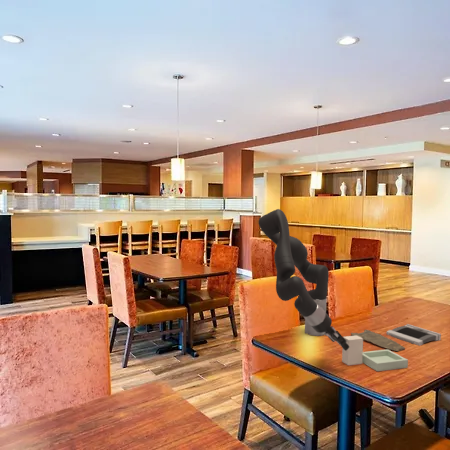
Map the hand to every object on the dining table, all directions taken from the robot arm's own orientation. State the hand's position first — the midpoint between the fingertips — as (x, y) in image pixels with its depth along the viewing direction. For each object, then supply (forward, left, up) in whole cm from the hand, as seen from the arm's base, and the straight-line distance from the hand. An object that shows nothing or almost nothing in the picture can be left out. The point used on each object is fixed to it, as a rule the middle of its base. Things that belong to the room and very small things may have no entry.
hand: (341, 344), depth 155 cm
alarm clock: (+27, +47, -8) cm, 55 cm away
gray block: (+4, +3, -8) cm, 9 cm away
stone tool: (+13, +33, -8) cm, 36 cm away
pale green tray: (+15, +7, -8) cm, 18 cm away
